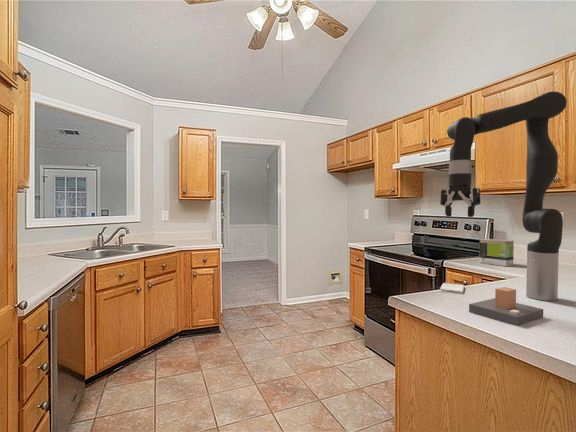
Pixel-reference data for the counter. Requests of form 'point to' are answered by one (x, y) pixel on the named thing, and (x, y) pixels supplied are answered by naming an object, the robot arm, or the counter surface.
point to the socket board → (506, 312)
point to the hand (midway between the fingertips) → (459, 216)
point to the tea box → (496, 252)
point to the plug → (505, 297)
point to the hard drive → (452, 288)
